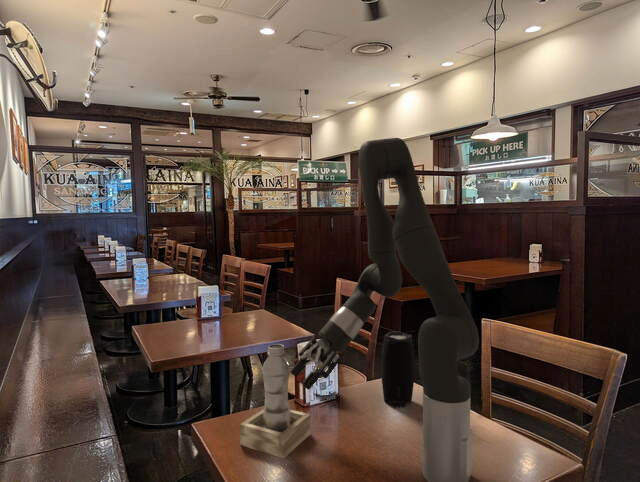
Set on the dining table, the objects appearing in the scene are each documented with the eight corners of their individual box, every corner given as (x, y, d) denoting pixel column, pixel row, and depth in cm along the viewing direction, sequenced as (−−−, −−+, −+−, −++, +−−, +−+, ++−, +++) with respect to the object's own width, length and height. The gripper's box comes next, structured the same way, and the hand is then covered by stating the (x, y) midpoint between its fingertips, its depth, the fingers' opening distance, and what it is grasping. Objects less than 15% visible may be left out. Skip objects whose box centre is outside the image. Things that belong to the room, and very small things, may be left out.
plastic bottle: (286, 436, 100) (286, 351, 99) (258, 434, 101) (257, 349, 100) (294, 423, 106) (293, 343, 105) (267, 421, 107) (266, 341, 106)
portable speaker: (386, 393, 131) (387, 329, 130) (417, 399, 126) (418, 333, 125) (377, 404, 123) (377, 336, 122) (409, 411, 119) (410, 340, 118)
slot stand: (310, 434, 106) (310, 414, 106) (283, 458, 96) (283, 436, 95) (269, 423, 112) (269, 404, 112) (240, 445, 101) (240, 424, 101)
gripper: (320, 313, 114) (279, 362, 110) (344, 326, 101) (298, 382, 97) (338, 331, 116) (299, 379, 113) (364, 345, 103) (320, 401, 99)
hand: (298, 380), depth 105 cm, fingers open, 8 cm apart
